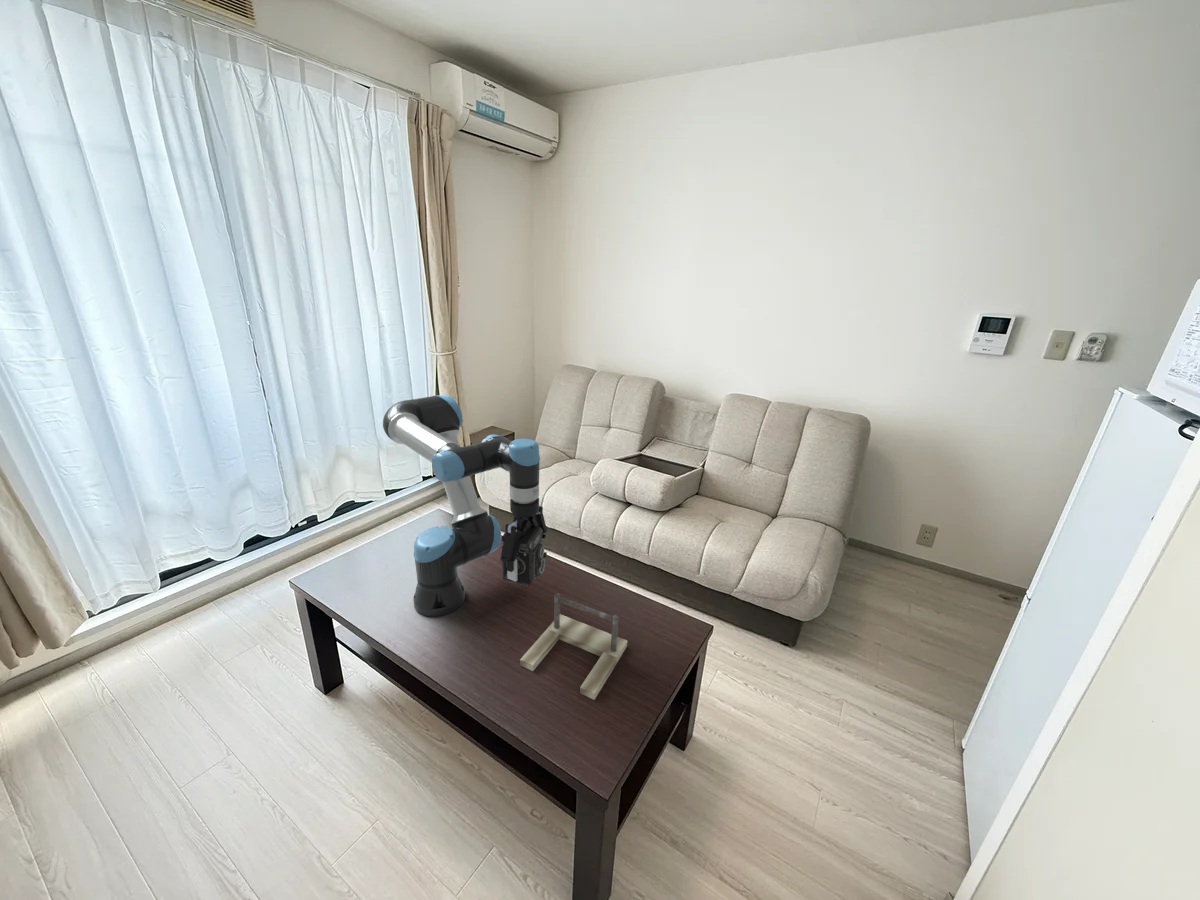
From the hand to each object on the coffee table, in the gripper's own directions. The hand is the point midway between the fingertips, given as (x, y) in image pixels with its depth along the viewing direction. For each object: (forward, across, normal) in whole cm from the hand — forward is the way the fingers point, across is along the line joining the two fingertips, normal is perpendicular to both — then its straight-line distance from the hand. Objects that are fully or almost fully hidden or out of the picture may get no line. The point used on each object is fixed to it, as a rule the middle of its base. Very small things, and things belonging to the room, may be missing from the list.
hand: (525, 568), depth 128 cm
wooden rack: (+20, -3, -19) cm, 27 cm away
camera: (+3, 0, 0) cm, 3 cm away
